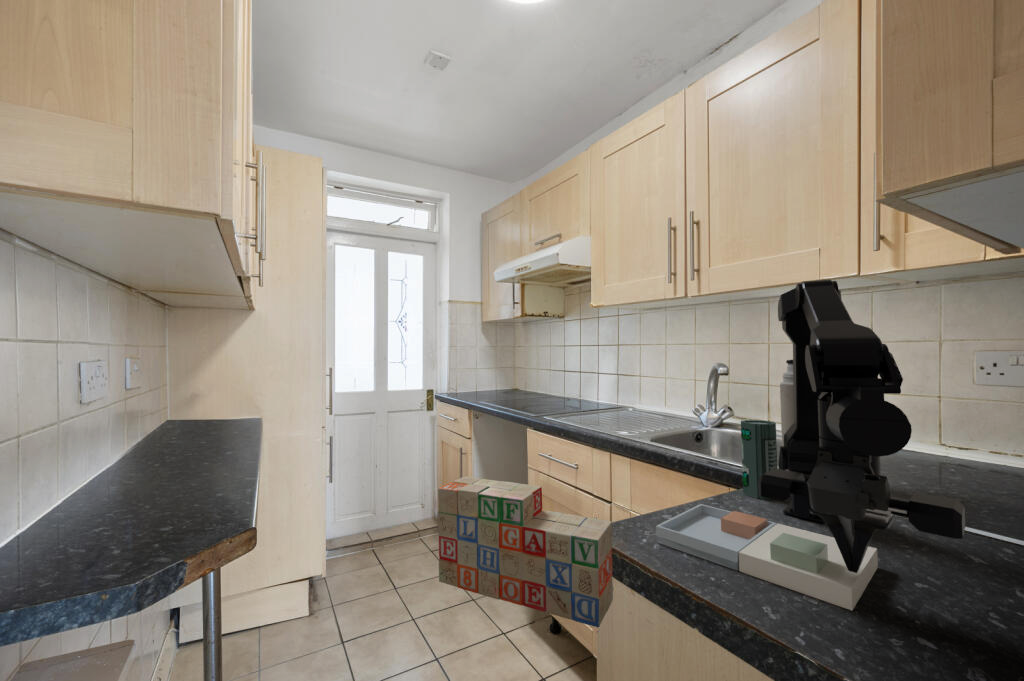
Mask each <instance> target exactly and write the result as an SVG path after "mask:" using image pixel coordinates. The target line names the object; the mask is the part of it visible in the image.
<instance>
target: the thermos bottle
mask: <svg viewBox="0 0 1024 681" xmlns="http://www.w3.org/2000/svg"><path fill="white" fill-rule="evenodd" d="M785 363H786V364H787V366H786V371H785V372H784V373H783V374H782V382H780V383H779V390H780V391H779V394H780V395H779V398H780V399H779V400H780V422H781V423H780V424H781V426H780V428H781V443H782V444H781V446H784V434H785V433H786V432H787V430H788V429H789V428H790V427H791V425H792V424H793V423H794V397H793V359H787V360H786V362H785ZM787 471H789V470H787Z"/></svg>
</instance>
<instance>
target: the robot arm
mask: <svg viewBox="0 0 1024 681" xmlns="http://www.w3.org/2000/svg"><path fill="white" fill-rule="evenodd" d="M841 291H842V290H840V289H839V285H838V282H837V281H836V280H831V279H823V280H822V279H820V280H817V279H816V280H807V281H805V280H804V281H802V282H800V283H796V285H795V287H794V288H792V289H790V290H788V291H786V292H784V293H782V294H781V295H780V297H779V300H778V303H777V317H778V318H777V319H778V322H781V328H782V331H783V332H784V333H785V335H786V336H787V338H788V339H789V340H790V341H791V343H792V360H793V397H794V423H793V424H792V425H791V427H790V428H789V429H788V430H787V432H786V433H785V434H784V446H782V445H781V446H780V447H779V454H778V461H777V466H778V468H777V469H775V468H774V469H772V470H770V471H768V472H766V473H764V474H763V475H761V476H760V477H759V480H758V495H759V496H761V497H765V498H770V500H773V499H774V500H775V501H779V502H784V501H785V502H786V500H788V499H789V506H787V507H786V508H784V509H783V510H782V513H783V514H784V515H789V516H794V517H796V518H797V517H798V518H801V519H806V520H810V521H813V522H818V523H822V524H823V523H824V524H826V525H827V527H828V529H829V530H830V532H831V534H832V537H833V538H835V541H836V542H837V545H838V548H839V550H840V552H841V555H842V557H843V559H844V562H845V564H846V566H847V569H848V571H851V572H854V573H857V572H858V571H859V568H860V566H861V563H862V561H863V558H864V556H865V553H866V551H867V548H868V546H869V547H870V543H871V540H872V539H873V536H874V535H875V532H876V531H878V530H881V531H887V530H889V529H890V527H891V526H892V524H893V522H894V521H895V519H896V518H895V517H896V516H900V517H905V518H908V522H909V523H910V524H911V525H912V526H913V527H914V528H915V529H916V530H917V531H918V532H923V533H925V534H926V533H927V534H931V535H936V536H941V537H943V538H944V537H945V538H950V539H955V540H960V539H961V540H963V539H964V534H965V529H966V512H965V505H963V503H961V502H960V501H959V500H958V499H957V498H952V497H946V496H941V495H934V494H927V493H922V492H916V491H915V492H913V494H912V495H911V496H910V498H909V499H907V498H902V497H896V496H891V488H890V486H891V485H890V483H889V479H888V477H887V475H882V474H881V473H882V472H881V457H888V456H891V455H894V454H896V453H898V452H899V451H901V450H903V449H904V448H905V447H906V446H907V445H908V443H909V441H910V439H911V438H912V432H913V431H912V430H913V429H912V423H911V422H910V420H909V418H908V416H907V415H906V414H905V413H904V411H903V410H902V409H901V408H900V407H898V406H897V405H895V404H893V403H891V402H889V401H886V400H885V394H891V395H896V394H897V395H900V394H901V393H902V384H903V381H904V377H903V375H902V373H901V371H900V369H899V366H898V365H897V364H898V363H897V361H896V360H895V357H894V356H893V353H892V352H891V351H890V349H889V347H888V345H887V344H886V343H883V342H882V340H881V338H880V337H879V336H878V335H877V334H876V333H875V331H873V329H872V328H870V327H867V326H864V325H860V324H857V323H855V322H854V321H853V319H852V317H851V316H850V314H849V312H848V310H847V308H846V306H845V304H844V302H843V300H842V292H841ZM879 377H880V378H879ZM787 470H789V471H787ZM774 500H773V501H774ZM852 522H853V527H854V528H853V527H852ZM852 528H853V529H852ZM853 530H854V531H853ZM853 532H854V534H853Z"/></svg>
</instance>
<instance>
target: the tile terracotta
mask: <svg viewBox="0 0 1024 681" xmlns="http://www.w3.org/2000/svg"><path fill="white" fill-rule="evenodd" d="M767 521H768V518H765V517H761V516H755V515H752V514H748V513H744V512H740V511H736V510H733V511H731V513H729V514H727V515H726V516H724V517H722V518H721V531H723V532H726V533H730V534H733V535H737V536H740V537H743V538H747V539H751V538H752V537H754V536H755V535H757V534H758V533H759V532H761V531H762V530H763V529H765V528H766V527H767Z"/></svg>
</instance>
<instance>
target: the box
mask: <svg viewBox="0 0 1024 681" xmlns="http://www.w3.org/2000/svg"><path fill="white" fill-rule="evenodd" d="M731 512H732V511H730V510H726V509H723V508H718V507H714V506H711V505H706V504H703V503H699V504H697V505H696V506H694V507H691V508H689V509H687V510H686V511H683V512H682V513H679V514H677V515H675V516H673V517H670V518H669V519H668V520H664V521H663V522H661V523H659V524H657V525H656V526H655V536H656V537H655V541H656V542H655V543H658V544H660V545H662V546H666V547H669V548H671V549H675V550H677V551H681V552H682V553H685V554H688V555H691V556H695V557H698V558H701V559H702V560H703V559H704V560H706V561H707V562H708V561H709V562H712V563H714V564H717V565H720V566H723V567H725V568H728V569H731V570H734V571H739V552H740V551H741V550H743V549H744V548H745V547H747V546H748V545H749V544H751V543H752V542H753V541H755V540H756V539H757V538H759V537H760V536H761V535H763V534H764V533H765V532H767V531H768V530H769V529H771V528H772V527H773V526H775V525H776V524H777V523H776V522H774V521H770V520H767V527H766V528H765V529H763V530H762V531H761V532H759V533H758V534H757V535H755V536H754V537H752V538H751V539H747V538H743V537H740V536H737V535H733V534H730V533H726V532H723V531H721V518H722V517H724V516H726V515H727V514H729V513H731Z"/></svg>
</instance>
